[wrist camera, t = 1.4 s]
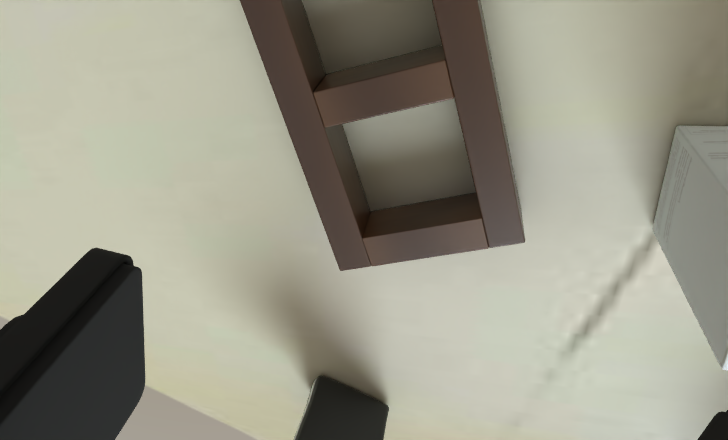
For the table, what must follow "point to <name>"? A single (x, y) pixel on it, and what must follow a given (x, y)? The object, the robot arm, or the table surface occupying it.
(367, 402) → the battery charger
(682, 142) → the white packaging box
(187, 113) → the table surface
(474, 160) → the rack
